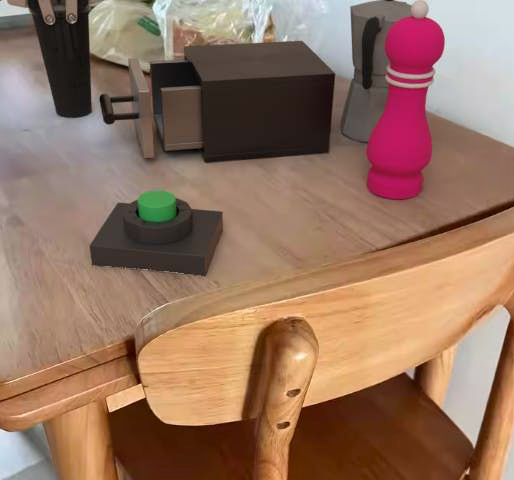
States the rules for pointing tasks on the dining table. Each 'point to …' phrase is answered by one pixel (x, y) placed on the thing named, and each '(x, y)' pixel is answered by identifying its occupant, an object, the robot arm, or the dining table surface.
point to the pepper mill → (405, 107)
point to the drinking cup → (67, 65)
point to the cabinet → (262, 100)
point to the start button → (157, 206)
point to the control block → (158, 240)
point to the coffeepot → (369, 65)
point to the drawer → (162, 105)
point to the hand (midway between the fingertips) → (66, 57)
